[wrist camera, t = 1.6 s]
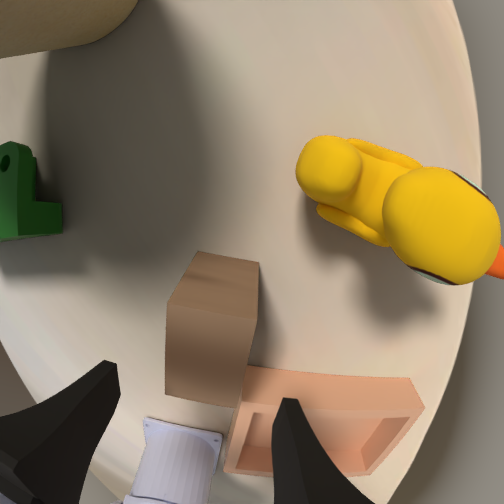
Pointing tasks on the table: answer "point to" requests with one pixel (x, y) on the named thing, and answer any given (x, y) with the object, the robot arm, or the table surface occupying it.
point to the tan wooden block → (211, 329)
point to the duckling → (404, 208)
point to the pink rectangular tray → (322, 418)
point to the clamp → (23, 197)
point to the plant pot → (57, 23)
